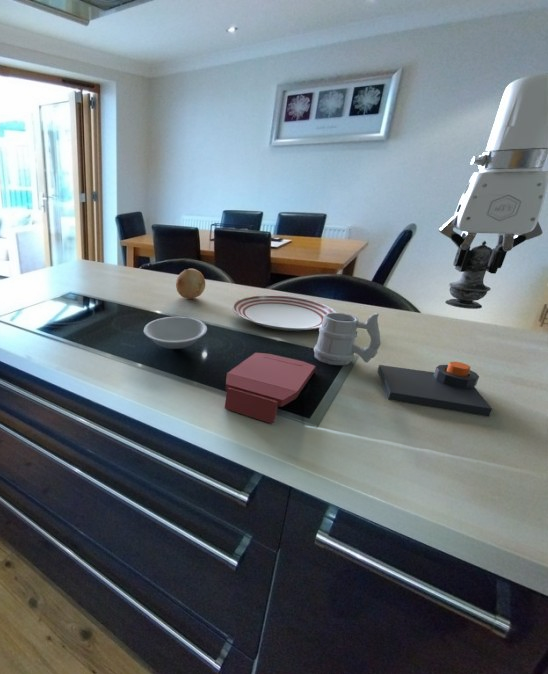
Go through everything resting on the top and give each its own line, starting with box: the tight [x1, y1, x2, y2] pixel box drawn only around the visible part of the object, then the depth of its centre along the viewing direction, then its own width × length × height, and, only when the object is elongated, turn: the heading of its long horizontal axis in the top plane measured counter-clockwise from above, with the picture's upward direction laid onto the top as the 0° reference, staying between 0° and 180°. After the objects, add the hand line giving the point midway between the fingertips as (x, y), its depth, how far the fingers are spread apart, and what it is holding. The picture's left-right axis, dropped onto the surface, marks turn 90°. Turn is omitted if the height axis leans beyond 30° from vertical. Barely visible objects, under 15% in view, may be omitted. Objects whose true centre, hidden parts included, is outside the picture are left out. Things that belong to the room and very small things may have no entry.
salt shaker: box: [444, 240, 493, 310], centre depth 72 cm, size 6×6×12 cm
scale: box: [376, 364, 493, 418], centre depth 72 cm, size 14×12×4 cm
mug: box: [313, 312, 382, 366], centre depth 83 cm, size 8×12×12 cm, turn 47°
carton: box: [224, 352, 316, 424], centre depth 76 cm, size 12×5×25 cm
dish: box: [143, 316, 208, 350], centre depth 94 cm, size 18×14×5 cm
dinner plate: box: [231, 294, 338, 332], centre depth 110 cm, size 27×27×3 cm
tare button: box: [446, 361, 471, 376], centre depth 72 cm, size 3×3×2 cm
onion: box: [175, 268, 206, 300], centre depth 131 cm, size 10×10×10 cm
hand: (474, 270), depth 72 cm, fingers closed on salt shaker, 3 cm apart
